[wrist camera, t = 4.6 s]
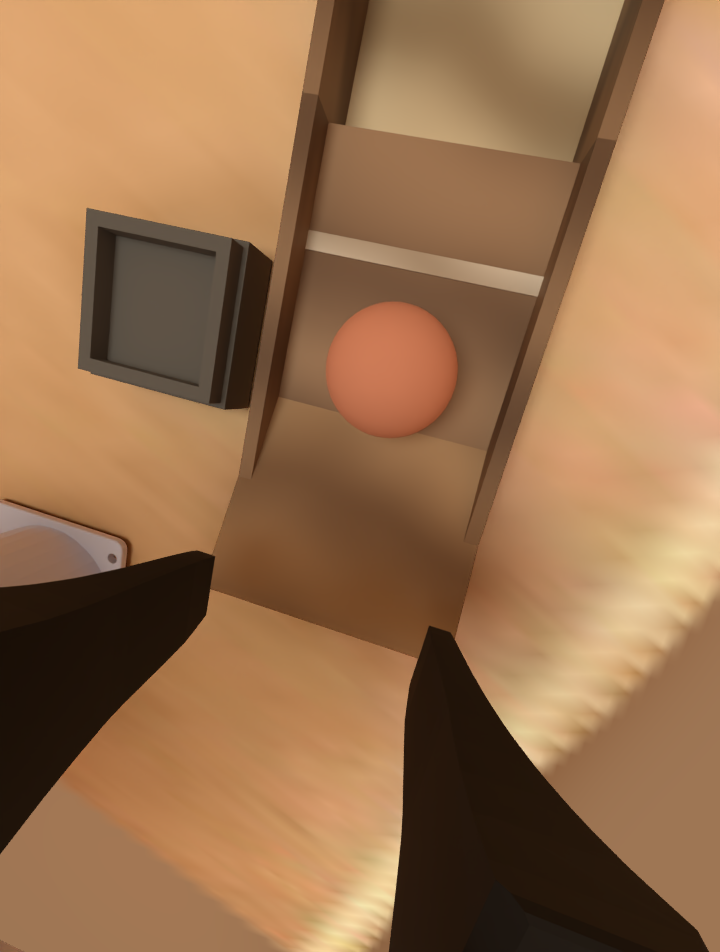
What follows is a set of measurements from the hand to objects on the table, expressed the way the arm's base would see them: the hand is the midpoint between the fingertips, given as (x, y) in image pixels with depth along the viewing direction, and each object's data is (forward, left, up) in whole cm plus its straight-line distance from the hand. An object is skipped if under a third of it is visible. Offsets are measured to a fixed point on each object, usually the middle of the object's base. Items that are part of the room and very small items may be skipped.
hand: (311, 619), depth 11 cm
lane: (+10, 0, -6) cm, 11 cm away
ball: (+7, 0, -3) cm, 8 cm away
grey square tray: (+8, +9, -6) cm, 13 cm away
